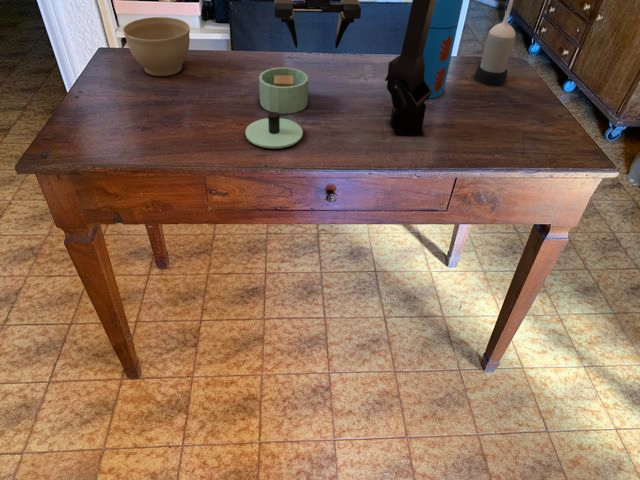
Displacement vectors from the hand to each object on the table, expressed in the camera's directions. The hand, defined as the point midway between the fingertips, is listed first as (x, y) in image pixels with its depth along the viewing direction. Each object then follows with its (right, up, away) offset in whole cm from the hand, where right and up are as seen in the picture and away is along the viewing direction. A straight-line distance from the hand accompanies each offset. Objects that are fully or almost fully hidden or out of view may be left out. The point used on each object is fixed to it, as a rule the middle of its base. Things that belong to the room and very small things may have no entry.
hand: (316, 47), depth 116 cm
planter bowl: (-41, +1, +18) cm, 44 cm away
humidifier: (+47, -1, +22) cm, 52 cm away
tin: (-8, -11, +6) cm, 15 cm away
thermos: (+28, -5, +15) cm, 32 cm away
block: (-8, -11, +6) cm, 15 cm away
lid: (-9, -21, -6) cm, 24 cm away
